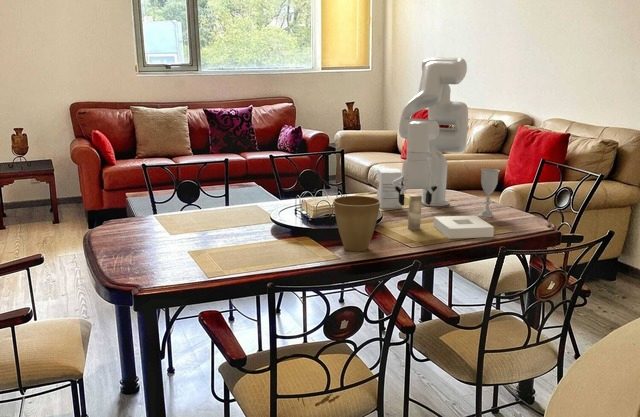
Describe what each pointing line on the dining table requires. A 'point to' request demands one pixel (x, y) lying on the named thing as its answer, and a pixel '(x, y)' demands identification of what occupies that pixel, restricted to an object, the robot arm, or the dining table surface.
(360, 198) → the plant pot
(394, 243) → the dining table surface
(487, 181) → the chalice
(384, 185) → the supplement box
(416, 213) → the peg
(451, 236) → the socket
